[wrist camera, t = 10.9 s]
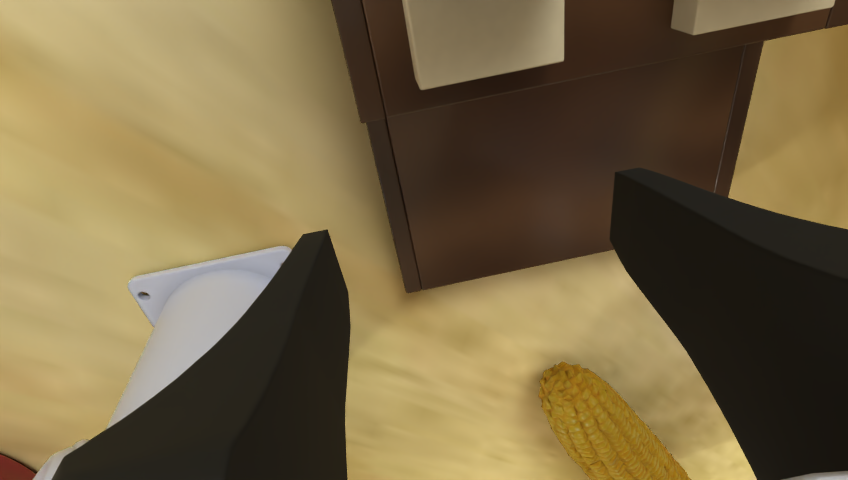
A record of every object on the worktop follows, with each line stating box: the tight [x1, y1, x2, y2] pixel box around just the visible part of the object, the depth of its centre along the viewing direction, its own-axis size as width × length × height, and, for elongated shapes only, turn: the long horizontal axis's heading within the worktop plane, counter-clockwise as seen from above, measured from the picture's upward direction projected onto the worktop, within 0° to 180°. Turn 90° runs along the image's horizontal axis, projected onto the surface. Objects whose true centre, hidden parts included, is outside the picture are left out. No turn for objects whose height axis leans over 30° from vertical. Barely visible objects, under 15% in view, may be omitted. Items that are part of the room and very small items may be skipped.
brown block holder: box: [331, 0, 848, 293], centre depth 18 cm, size 20×16×6 cm
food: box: [539, 362, 691, 480], centre depth 33 cm, size 21×6×6 cm, turn 37°
